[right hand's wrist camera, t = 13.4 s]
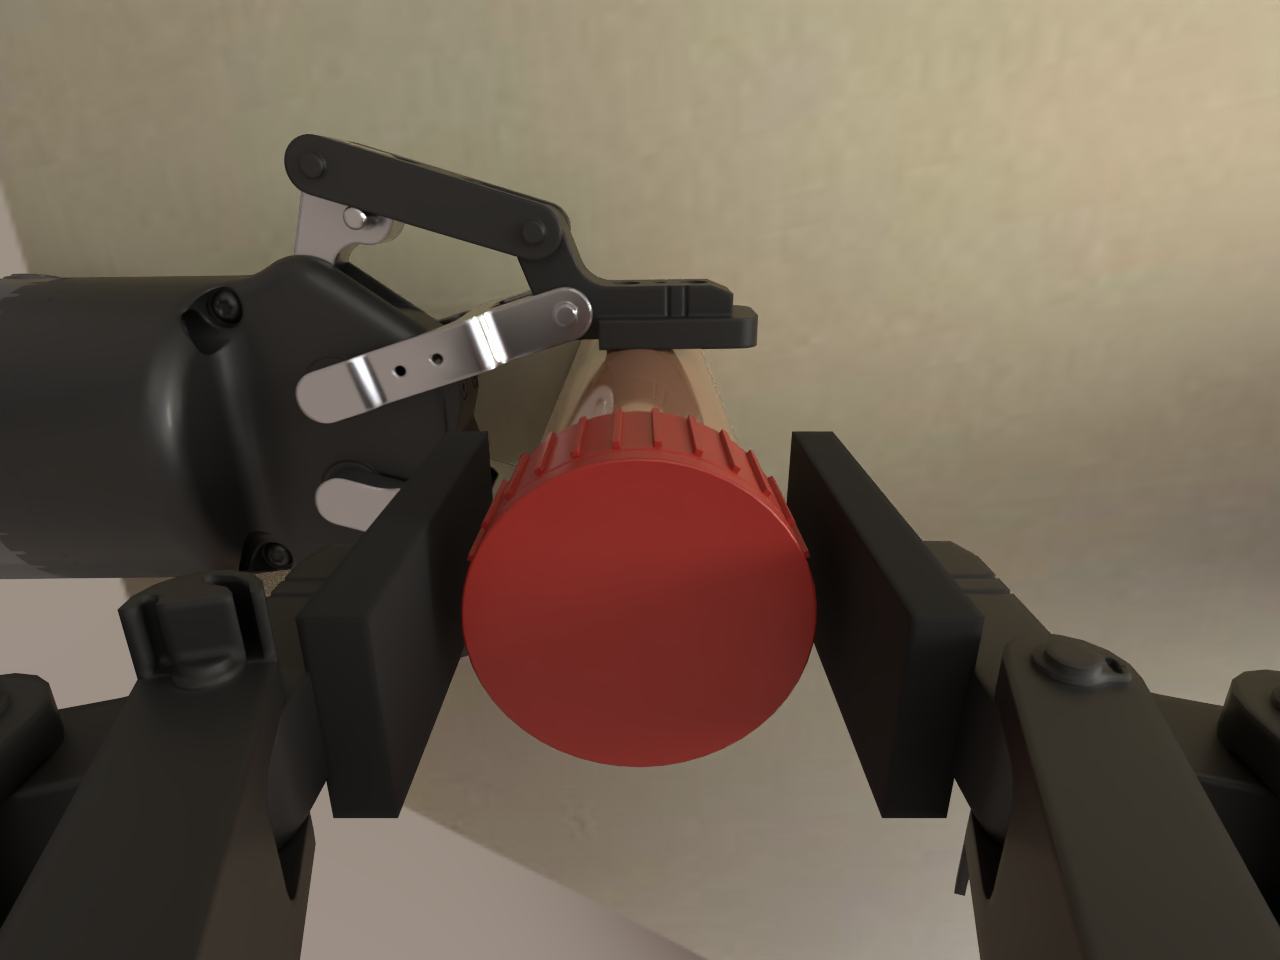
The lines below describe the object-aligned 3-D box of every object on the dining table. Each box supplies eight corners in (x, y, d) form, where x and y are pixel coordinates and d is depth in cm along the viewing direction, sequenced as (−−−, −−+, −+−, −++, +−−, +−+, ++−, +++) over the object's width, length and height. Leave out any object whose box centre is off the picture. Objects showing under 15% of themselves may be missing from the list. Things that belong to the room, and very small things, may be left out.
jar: (712, 313, 24) (820, 485, 10) (690, 436, 26) (756, 740, 11) (583, 295, 24) (500, 441, 10) (569, 420, 26) (479, 708, 11)
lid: (473, 407, 11) (435, 455, 9) (800, 403, 11) (837, 450, 9) (499, 680, 13) (472, 774, 11) (782, 677, 13) (809, 770, 11)
